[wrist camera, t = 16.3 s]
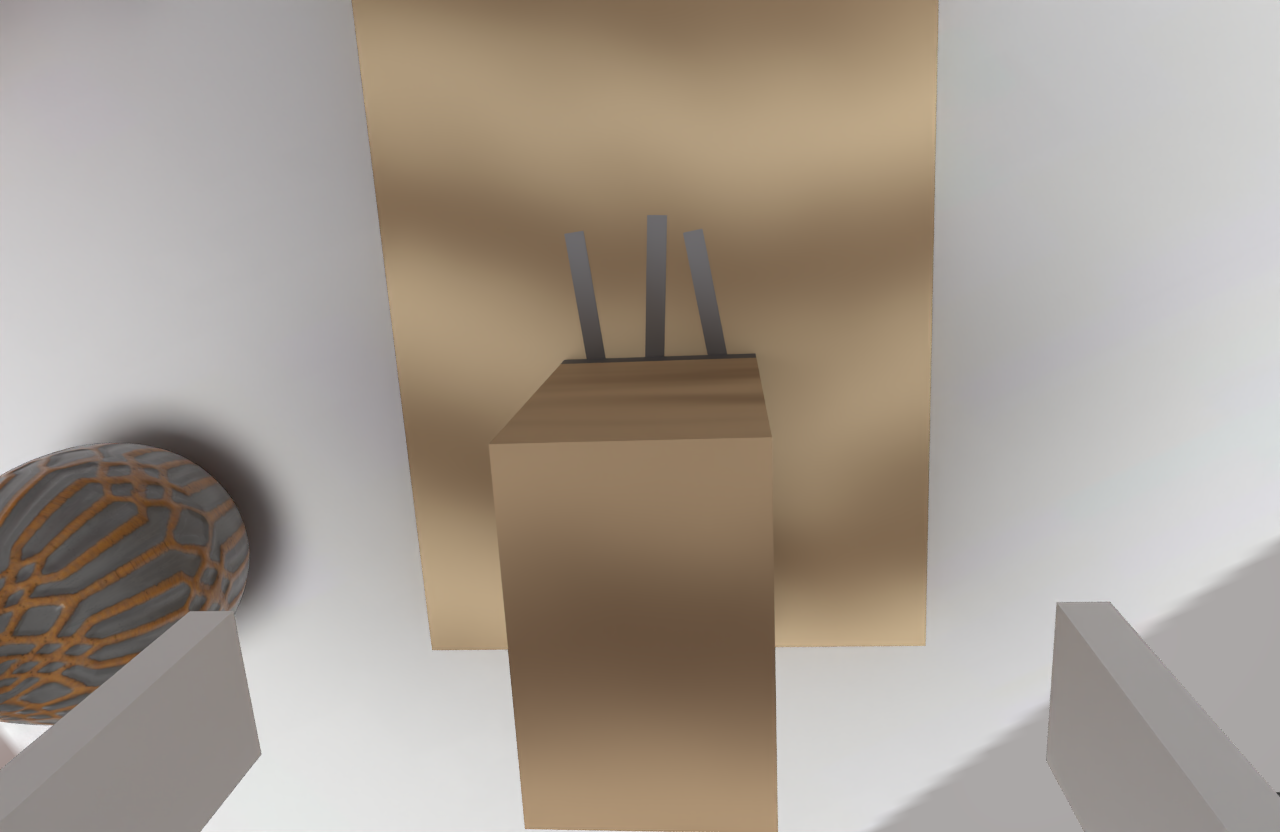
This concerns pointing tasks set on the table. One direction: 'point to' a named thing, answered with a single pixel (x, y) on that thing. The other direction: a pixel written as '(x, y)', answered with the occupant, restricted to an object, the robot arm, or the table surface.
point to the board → (667, 260)
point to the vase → (105, 567)
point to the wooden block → (641, 595)
